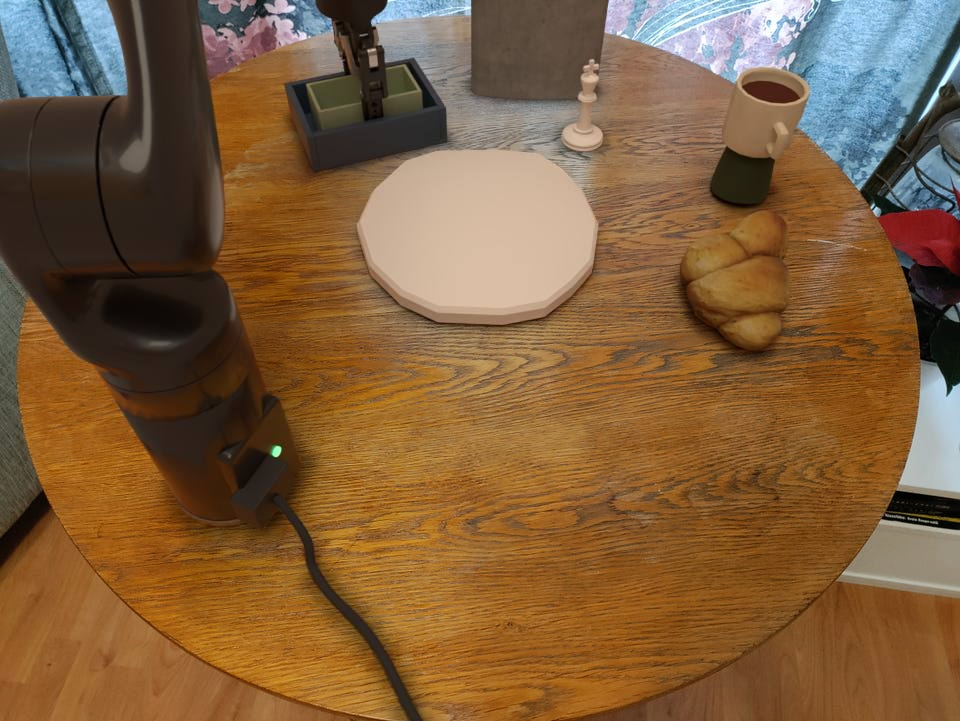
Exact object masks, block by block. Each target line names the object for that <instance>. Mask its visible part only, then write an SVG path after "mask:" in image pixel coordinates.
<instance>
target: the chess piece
mask: <svg viewBox="0 0 960 721" xmlns="http://www.w3.org/2000/svg"><path fill="white" fill-rule="evenodd" d="M594 62H595V61H594V60H593V59H591V60H589V65H587V66H583V71H584V72H586V71H588V72H586V73H584V74H582V75H581V83H582V88H583V91H581V92H580V93H579V95H578V98H577V99H578V100H579V101H580V102H581V106H580V110H579V114H578V118H577V122H574V123H573V122H572V123H570V124H568V125H566V126H565V127H564V128H563V130H562V133H561V136H560V139H561V142H562V143H563V145H564V146H565V147H567V148H568V149H570V150H573V151H577V152H591V151H595V150H597V149H598V148H600V147H601V146H602V144H603V141H604V134H603V131H602V130H601V129H600V128H599V127H598V126H597V125H595V124H593V123H592V116H591V115H592V103H594V102H596V101H597V99H598V97H597V93H596V94H595V93H594V92H593V90H594V88H595V86H596V84H597V85H598V83H597V82H599V80H600V77H599V75H597V74H595V73H593V70H598V69H599V70H600V68H599V65H598V64H594Z"/></svg>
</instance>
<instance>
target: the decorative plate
mask: <svg viewBox="0 0 960 721" xmlns="http://www.w3.org/2000/svg"><path fill="white" fill-rule="evenodd" d="M599 226H600V225H599V222H598V220H597V217H596V216H595V213H594V211H593V208H592V207H591V204H590V202H589V200H588V198H587V195H586V194H585V192H584V191H583V189H581V187H580V186H578V184H577V183H576V182H575V181H574V180H573V179H572V177H571V176H569V174H567V172H565V170H564V169H563V168H562V167H560V166H559V165H557V164H555V163H554V162H553V161H551V160H549V159H548V158H547V157H545V156H543V155H542V154H540V153H538V152H529V151H518V150H517V151H516V150H507V149H462V150H461V149H459V150H458V149H456V150H453V149H452V150H451V149H450V150H435V151H432V152H431V151H430V152H428V153H425V154H421V155H419V156H416V157H412V158H409V159H406V160H405V161H404V162H403V163H402V164H400V166H398V167H397V168H396V169H395V170H393V172H391V174H389V175H388V176H387V177H385V179H384V180H383V181H382V182H381V183H379V184H378V185H377V186H376V187H374V189H373V190H372V191H371V193H370V195H369V197H368V200H367V201H366V204H365V206H364V208H363V210H362V212H361V215H360V217H359V219H358V221H357V224H356V232H357V237H358V240H359V243H360V244H359V245H360V247H361V250H362V252H363V257H364V259H365V262H366V265H367V269H368V272H369V275H370V277H372V278H373V279H374V280H375V281H376V282H377V283H378V284H379V285H380V286H381V287H382V288H383V289H384V290H385V291H386V293H388V294H389V295H390V296H391V297H392V298H393V299H394V300H396V302H397V303H398V304H399V305H400V306H402V307H404V308H406V309H408V310H409V311H412V312H415V313H417V314H419V315H421V316H424V317H426V318H428V319H430V320H432V321H434V322H436V323H445V324H449V323H450V324H471V325H474V324H475V325H496V326H497V325H500V326H505V325H509V324H515V323H519V322H525V321H530V320H535V319H540V318H545V317H546V316H548V315H549V314H550V313H551V312H553V311H555V309H556V308H558V307H559V306H561V305H562V304H563V303H565V302H566V301H567V300H569V299H570V298H571V297H572V296H573V295H574V294H575V293H576V292H577V291H578V289H580V287H581V286H582V285H583V284H584V283H585V282H586V280H588V278H589V277H590V276H591V275H592V274H593V269H594V268H593V267H594V262H595V253H596V247H597V239H598V232H599Z"/></svg>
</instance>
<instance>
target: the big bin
mask: <svg viewBox="0 0 960 721" xmlns="http://www.w3.org/2000/svg"><path fill="white" fill-rule="evenodd" d="M403 64H405V65H406V66H407V68H408V70H409V71H410V73H411V74H412V76H413V78H414V79H415V81H416V83H417V84H418V86H419V87H420V89H421V91H422V103H423V109H419V110H415V111H410V112H405V113H401V114H396V115H391V116H387V117H382V118H378V119H373V120H368V121H364V122H359V123H354V124H350V125H345V126H340V127H336V128H331V129H326V130H322V131H317V130H316V127H315V125H314V123H313V119H312V114H311V109H310V104H309V98H308V93H307V88H306V84H308V83H313V82H318V81H323V80H328V79H333V78H338V77H343V76H345V75H344V70H343V71H340V72H333V73H329V74H324V75H319V76H313V77H309V78H308V77H307V78H303V79H298V80H294V81H293V80H292V81H289V82H285V83H284V84H283V85H284V89H285V90H284V91H285V94H286V98H287V99H286V100H287V104H288V108H289V113H290V118H291V120H292V123H293V125H294V128H295V130H296V132H297V135H298V137H299V140H300V142H301V144H302V147H303V150H304V151H305V154H306V157H307V159H308V162H309V164H310V166H311V169H312V171H313V173H317V172H322V171H325V170H330V169H334V168H335V169H336V168H339V167H344V166H348V165H352V164H357V163H361V162H365V161H369V160H374V159H378V158H383V157H387V156H391V155H395V154H400V153H405V152H408V151H413V150H418V149H422V148H426V147H431V146H435V145H440V144H444V143H447V142H448V122H447V119H448V118H447V107H446V105H445V104H444V102H443V100H442V99H441V97H440V96H439V94H438V92H437V91H436V89H435V88H434V86H433V85H432V83H431V82H430V80H429V79H428V76H427V75H426V74H425V72H424V70H423V69H422V68H421V65H419V63H418V61H417V60H416V58H415V57H410V58H405V59H399V60H394V61H389V62H385V68H388V67H393V66H398V65H403Z"/></svg>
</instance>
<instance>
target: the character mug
mask: <svg viewBox="0 0 960 721" xmlns="http://www.w3.org/2000/svg"><path fill="white" fill-rule="evenodd" d="M810 95H811V88H810V86H809V83H808V82H807V81H806V80H805V79H803V78H802V77H801V76H799V75H798V74H795V73H793V72H791V71H789V70H785V69H782V68H778V67H772V66H771V67H769V66H758V67H752V68H748V69H746V70H744V71H742V72H740V73H739V75H738V77H737V78H736V80H735V83H734V85H733V89H732V92H731V96H730V99H729V102H728V106H727V108H726V109H727V110H726V113H725V117H724V120H723V124H722V127H721V140H722V142H723V143H724V144H725V145H726V146H725V148H724V150H723V152H722V154H721V156H720V158H719V160H718V162H717V165H716V167H715V169H714V171H713V174H712V176H711V178H710V184H709V186H710V189H711V190H712V192H713V194H714V195H716V196H717V197H719V199H721V200H723V201H727V202H731V203H735V204H741V205H752V204H753V205H756V204H761V203H762V202H763V201H765V200H766V199H767V197H768V194H769V190H770V186H771V183H772V178H773V174H774V167H775V163H776V162H775V161H778V160H779V159H781V157H782V155H783V152H785V151H787V149H789V148H790V147H791V146H792V144H793V142H794V139H795V130H796V127H797V126H798V125H799V122H800V121H801V119H802V117H803V115H804V113H805V109H806V107H807V106H806V105H807V103H808V101H809V97H810Z"/></svg>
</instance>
